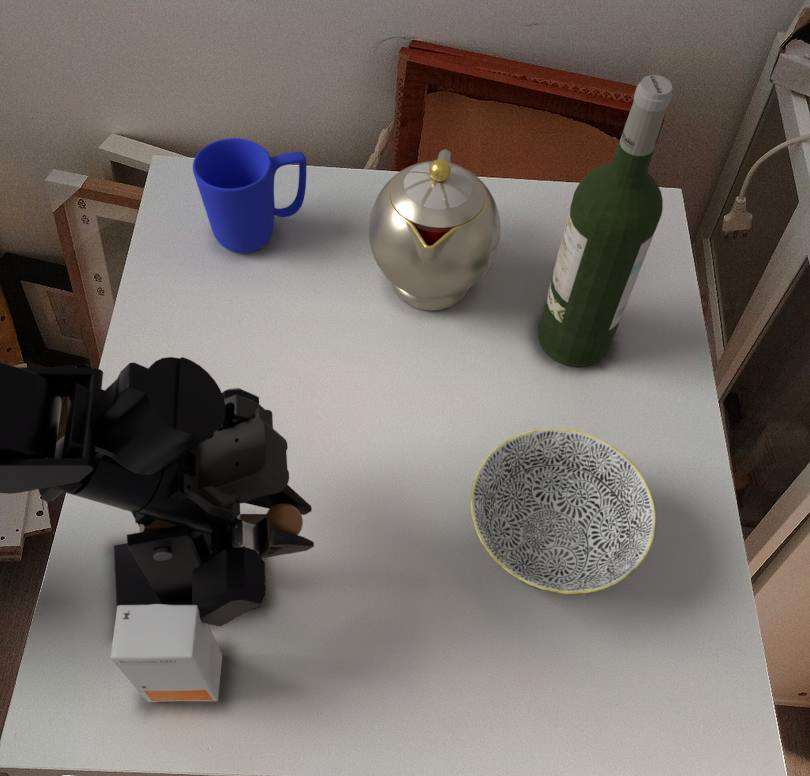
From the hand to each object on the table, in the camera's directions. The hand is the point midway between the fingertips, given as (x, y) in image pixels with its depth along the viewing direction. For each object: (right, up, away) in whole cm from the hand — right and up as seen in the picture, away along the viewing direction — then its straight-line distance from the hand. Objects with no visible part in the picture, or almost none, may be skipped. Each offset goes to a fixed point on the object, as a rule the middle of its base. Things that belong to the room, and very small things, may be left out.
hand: (309, 528), depth 70 cm
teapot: (+11, +28, +23) cm, 38 cm away
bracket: (-11, -5, +4) cm, 13 cm away
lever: (-7, 0, -2) cm, 7 cm away
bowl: (+21, -2, +7) cm, 23 cm away
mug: (-9, +33, +25) cm, 43 cm away
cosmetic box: (-10, -13, -1) cm, 16 cm away
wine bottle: (+26, +20, +19) cm, 38 cm away
